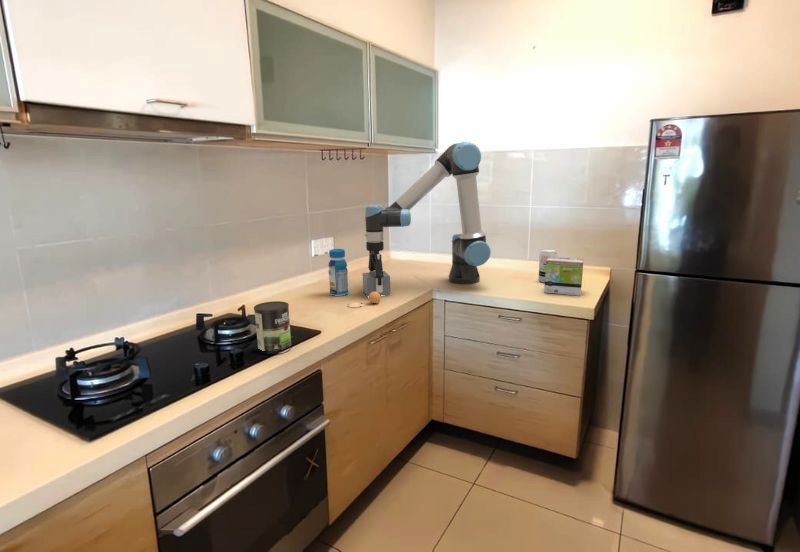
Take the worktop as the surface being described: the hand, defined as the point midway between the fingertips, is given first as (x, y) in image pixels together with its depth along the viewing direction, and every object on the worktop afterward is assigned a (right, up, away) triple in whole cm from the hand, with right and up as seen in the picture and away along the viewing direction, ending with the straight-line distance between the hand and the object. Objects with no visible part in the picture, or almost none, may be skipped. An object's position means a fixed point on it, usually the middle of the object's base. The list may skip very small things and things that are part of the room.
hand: (376, 288), depth 205 cm
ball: (0, -3, -15) cm, 15 cm away
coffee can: (-28, -17, -61) cm, 70 cm away
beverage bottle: (-17, -3, +1) cm, 17 cm away
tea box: (+82, -2, -3) cm, 82 cm away
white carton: (+81, +3, +15) cm, 82 cm away
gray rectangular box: (0, -2, +1) cm, 2 cm away
